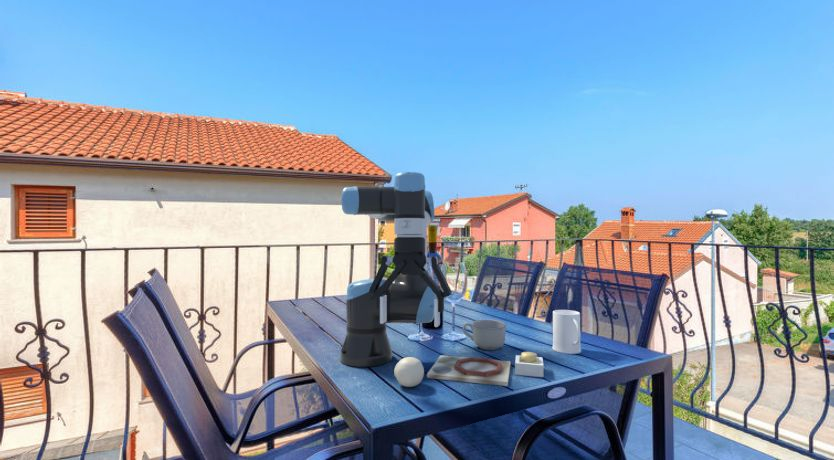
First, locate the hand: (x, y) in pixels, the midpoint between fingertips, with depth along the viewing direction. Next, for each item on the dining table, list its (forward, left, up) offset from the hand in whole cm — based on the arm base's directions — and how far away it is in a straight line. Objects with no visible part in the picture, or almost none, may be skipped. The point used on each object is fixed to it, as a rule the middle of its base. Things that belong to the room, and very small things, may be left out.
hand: (409, 324), depth 93 cm
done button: (+28, +18, -12) cm, 35 cm away
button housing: (+28, +18, -15) cm, 36 cm away
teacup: (+14, +38, -15) cm, 43 cm away
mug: (+40, +40, -15) cm, 58 cm away
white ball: (0, 0, -15) cm, 15 cm away
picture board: (+13, +14, -15) cm, 24 cm away
